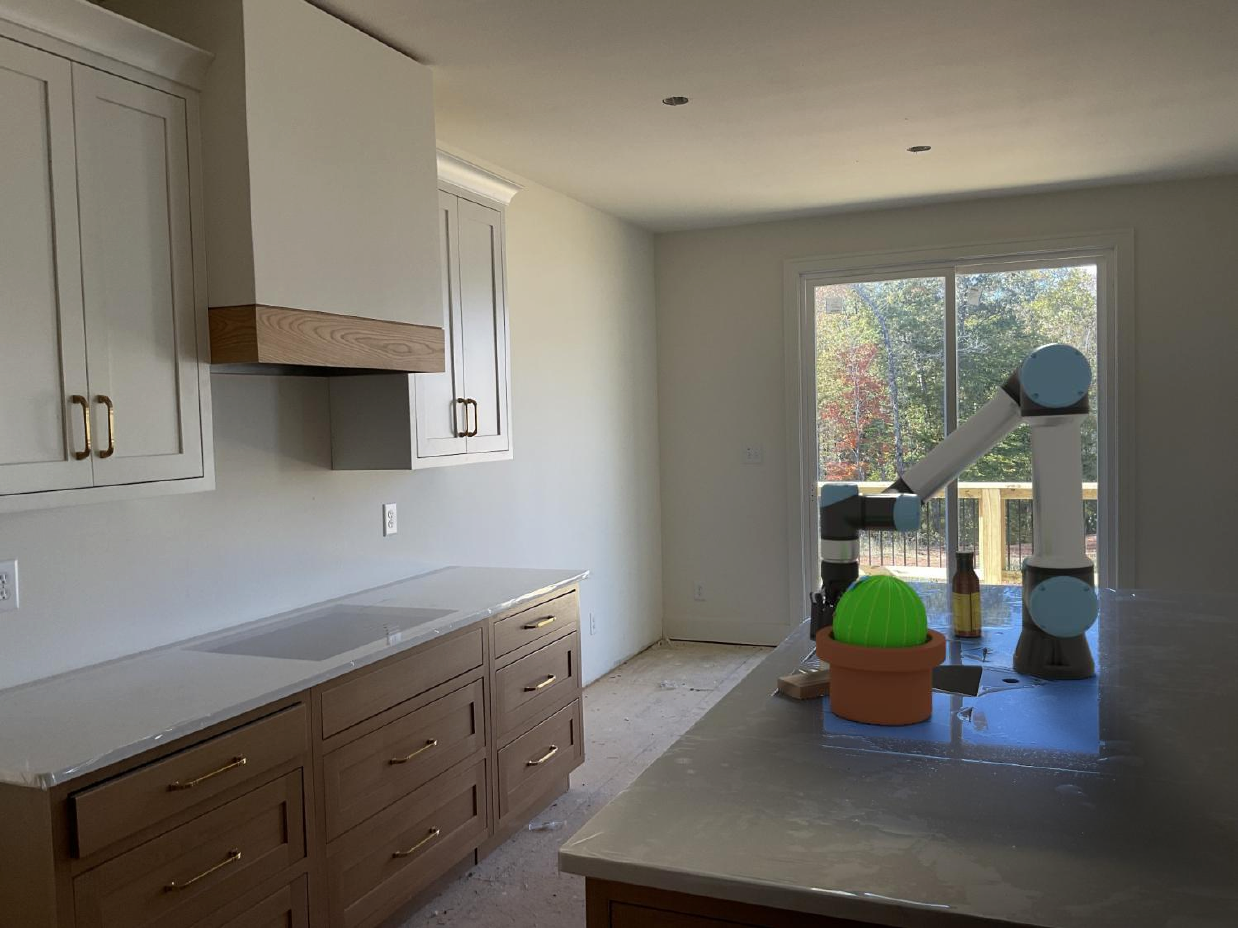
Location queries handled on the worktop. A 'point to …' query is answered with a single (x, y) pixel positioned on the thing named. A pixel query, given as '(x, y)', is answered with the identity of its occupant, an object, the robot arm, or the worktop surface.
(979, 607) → the sauce bottle
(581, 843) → the worktop surface
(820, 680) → the board
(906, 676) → the potted cactus
